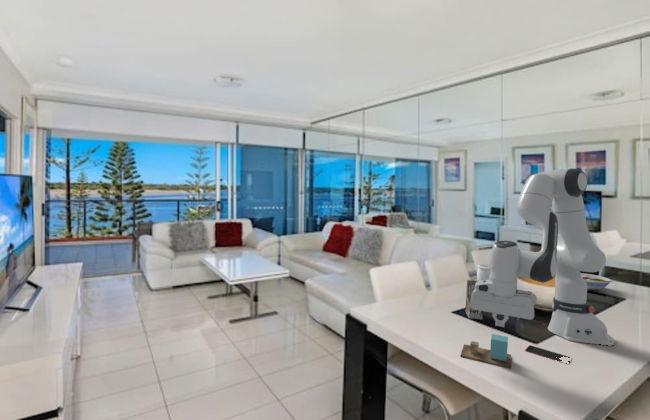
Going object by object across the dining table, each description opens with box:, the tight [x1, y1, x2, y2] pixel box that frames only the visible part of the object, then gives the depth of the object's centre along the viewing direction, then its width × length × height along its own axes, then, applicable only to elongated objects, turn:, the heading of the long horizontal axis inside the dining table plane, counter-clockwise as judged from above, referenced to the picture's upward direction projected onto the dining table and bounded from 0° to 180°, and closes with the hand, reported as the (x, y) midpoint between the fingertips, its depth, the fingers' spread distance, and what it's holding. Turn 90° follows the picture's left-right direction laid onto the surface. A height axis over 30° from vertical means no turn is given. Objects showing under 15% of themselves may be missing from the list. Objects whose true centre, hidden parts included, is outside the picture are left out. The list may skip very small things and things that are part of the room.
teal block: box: [489, 333, 509, 362], centre depth 124 cm, size 5×5×7 cm
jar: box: [476, 263, 491, 281], centre depth 208 cm, size 11×10×15 cm
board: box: [460, 340, 512, 370], centre depth 126 cm, size 16×10×4 cm, turn 62°
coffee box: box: [465, 279, 484, 320], centre depth 166 cm, size 9×6×16 cm
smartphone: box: [524, 344, 571, 365], centre depth 129 cm, size 7×1×14 cm
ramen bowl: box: [580, 272, 612, 291], centre depth 219 cm, size 25×23×8 cm
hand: (499, 325), depth 123 cm, fingers closed
